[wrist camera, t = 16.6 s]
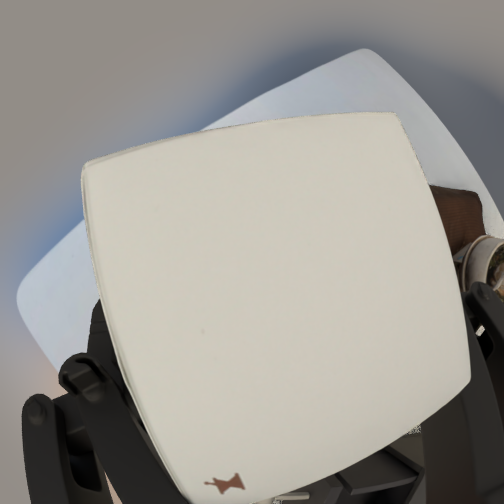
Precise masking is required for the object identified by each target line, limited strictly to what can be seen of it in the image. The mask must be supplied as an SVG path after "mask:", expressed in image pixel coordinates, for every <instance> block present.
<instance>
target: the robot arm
mask: <svg viewBox="0 0 504 504" xmlns="http://www.w3.org/2000/svg"><path fill="white" fill-rule="evenodd" d="M460 294H461V299H462V305H463V311H464V317H465V324H466V330H467V338H468V347H469V355H470V369H471V379H470V382H469V383H468V384H467V385H466V386H465V387H464V388H463V389H462V390H461V391H460V392H459V393H458V394H457V395H456V396H455V397H454V398H453V399H451V400H450V401H449V402H448V403H447V404H446V405H444V406H443V407H441V408H440V409H439V410H438V411H437V412H435V413H434V414H433V415H431V416H430V417H428V418H427V419H426V420H424V421H423V422H422V423H420V426H421V434H422V443H423V453H424V465H425V484H426V504H504V304H503V302H502V301H501V299H500V298H499V297H498V296H497V294H496V293H495V292H494V290H493V289H492V288H491V287H490V286H489V285H487V284H486V283H484V282H480V281H476V282H474V283H472V285H471V287H470V289H469V291H468V292H460ZM481 325H483V327H484V328H485V330H484V332H483V333H482V334H481V336H478V335H477V334H476V332H477V330H478V329H479V327H480V326H481ZM58 376H59V384H60V385H61V386H62V387H63V388H64V389H65V390H66V391H67V392H68V393H67V394H65V395H62V396H60V397H58V398H55V399H53V400H51V399H50V398H49V397H47V396H46V395H44V394H35V395H33V396H31V397H30V398H29V399H28V400H27V401H26V402H25V404H24V406H23V410H22V439H23V452H24V462H25V470H26V477H27V484H28V489H29V495H30V500H31V504H113V500H112V497H111V494H110V490H109V487H108V483H107V480H106V476H105V473H106V475H107V477H108V479H109V480H110V482H111V484H112V486H113V488H114V490H115V491H116V493H117V495H118V497H119V498H120V500H121V502H122V504H189V503H188V502H187V501H186V499H185V498H184V497H183V496H182V494H181V493H180V491H179V489H178V488H177V486H176V484H175V483H174V481H173V479H172V478H171V476H170V474H169V472H168V470H167V469H166V467H165V465H164V463H163V461H162V459H161V458H160V456H159V454H158V452H157V450H156V448H155V446H154V444H153V442H152V440H151V438H150V436H149V434H148V432H147V430H146V428H145V426H144V423H143V421H142V419H141V417H140V414H139V412H138V409H137V407H136V405H135V403H134V400H133V398H132V396H131V394H130V392H129V390H128V388H127V386H126V384H125V382H124V379H123V376H122V373H121V370H120V367H119V365H118V361H117V357H116V354H115V350H114V347H113V343H112V340H111V336H110V333H109V329H108V326H107V322H106V318H105V315H104V311H103V308H102V304H101V300H100V299H99V300H98V302H97V304H96V305H95V307H94V309H93V312H92V318H91V325H90V334H89V339H88V348H87V353H78V354H75V355H73V356H71V357H70V358H68V359H67V360H66V361H65V362H64V364H63V365H62V366H61V369H60V372H59V375H58ZM104 471H105V472H104Z"/></svg>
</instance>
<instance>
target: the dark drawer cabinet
mask: <svg viewBox="0 0 504 504" xmlns="http://www.w3.org/2000/svg"><path fill="white" fill-rule="evenodd" d="M384 450H386V451H388V452H389V453H390V454H392V455H393V456H395V457H396V458H398V459H399V460H400V461H402V462H403V463H405V464H406V465H408V466H409V467H411V468H412V469H414V470H415V471H417V472H418V473H420V474H419V476H418V478H417V480H416V482H415V484H414V486H413V488H412V490H411V491H410V493H409V495H408V497H407V499H406V501H405V502H404V504H426V484H425V465H424V453H423V443H422V434H421V433H416V434H409V435H403V436H401V437H400V438H398V439H397V440H395V441H393V442H392V443H390V444H389V445H387V446H385V447H384V448H382V449H380V450H378V451H384Z"/></svg>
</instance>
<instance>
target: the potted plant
mask: <svg viewBox="0 0 504 504" xmlns="http://www.w3.org/2000/svg"><path fill="white" fill-rule="evenodd" d="M429 187H430V190H431V192H432V195H433V198H434V200H435V203H436V206H437V209H438V212H439V215H440V218H441V221H442V224H443V227H444V230H445V233H446V237H447V240H448V244H449V247H450V251H451V255H452V258H453V262H454V267H455V271H456V275H457V280H458V284H459V289H460V292H468V291H469V289H470V287H471V285H472V283H474V282H476V281H480V282H484V283H486V284H487V285H489V286H490V287H491V288H492V289H493V290H494V292H495V293H496V294H497V296H498V297H499V298H500V299H501V301H502V302H503V304H504V239H500V238H495V237H494V236H491V235H486V233H485V228H484V224H483V216H482V204H481V201H480V198H479V196H478V194H477V193H476V192H473V191H467V190H458V189H450V188H444V187H439V186H432V185H429ZM481 326H482V325H481Z"/></svg>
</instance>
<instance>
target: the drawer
mask: <svg viewBox="0 0 504 504" xmlns="http://www.w3.org/2000/svg"><path fill="white" fill-rule="evenodd" d="M419 474H420V473H418V472H417V471H415V470H414V469H412V468H411V467H409V466H408V465H406V464H405V463H403V462H402V461H400V460H399V459H398V458H396V457H395V456H393V455H392V454H390V453H389V452H388V451H386V450H384V451H377V452H375V453H373V454H371V455H369V456H368V457H366V458H364V459H362V460H360V461H358V462H357V463H355V464H353V465H351V466H349V467H347V468H345V469H343V470H341V471H339V472H336V473H334V474H332V475H330V476H327V477H325V478H323V479H321V480H318V481H316V482H313V483H311V484H309V485H306V486H303V487H301V488H298V489H296V490H293V491H290V492H287V493H284V494H281V495H278V496H275V497H272V498H269V499H265V500H262V501H258V502H256V504H272V503H273V500H283V501H282V504H404V502H405V501H406V499H407V497H408V495H409V493H410V491H411V490H412V488H413V486H414V484H415V482H416V480H417V478H418V476H419Z"/></svg>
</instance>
